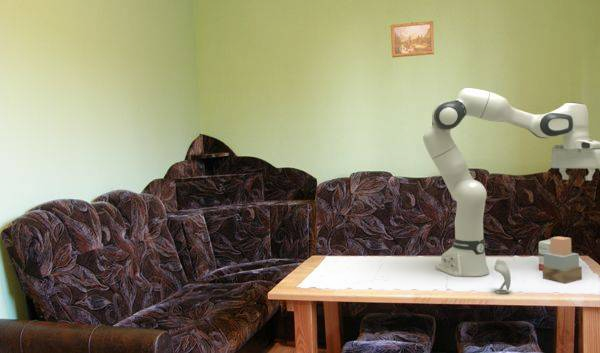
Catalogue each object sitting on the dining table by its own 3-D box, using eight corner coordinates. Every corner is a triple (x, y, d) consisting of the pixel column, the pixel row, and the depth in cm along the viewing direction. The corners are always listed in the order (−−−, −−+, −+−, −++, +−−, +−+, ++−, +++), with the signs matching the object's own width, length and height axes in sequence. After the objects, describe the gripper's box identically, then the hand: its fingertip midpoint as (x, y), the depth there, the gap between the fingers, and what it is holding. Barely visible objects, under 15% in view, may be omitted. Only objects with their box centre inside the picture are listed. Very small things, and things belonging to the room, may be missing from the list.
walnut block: (542, 279, 187) (542, 266, 186) (559, 274, 191) (559, 262, 191) (564, 284, 179) (564, 271, 178) (581, 279, 183) (581, 266, 183)
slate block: (543, 266, 186) (543, 253, 186) (559, 262, 190) (559, 250, 190) (563, 270, 179) (562, 257, 179) (578, 266, 183) (578, 253, 183)
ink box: (549, 272, 195) (548, 243, 194) (538, 270, 199) (537, 241, 198) (562, 268, 199) (561, 240, 198) (551, 266, 203) (550, 238, 203)
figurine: (512, 295, 168) (511, 261, 168) (496, 295, 170) (495, 261, 169) (509, 289, 176) (508, 256, 175) (493, 288, 177) (492, 256, 176)
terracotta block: (550, 253, 186) (550, 238, 185) (558, 251, 188) (558, 236, 188) (563, 255, 181) (562, 239, 181) (571, 253, 184) (571, 238, 183)
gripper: (546, 145, 195) (547, 179, 196) (596, 143, 177) (597, 181, 177) (556, 144, 198) (557, 178, 199) (607, 143, 180) (608, 180, 180)
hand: (577, 180), depth 188 cm, fingers open, 8 cm apart
